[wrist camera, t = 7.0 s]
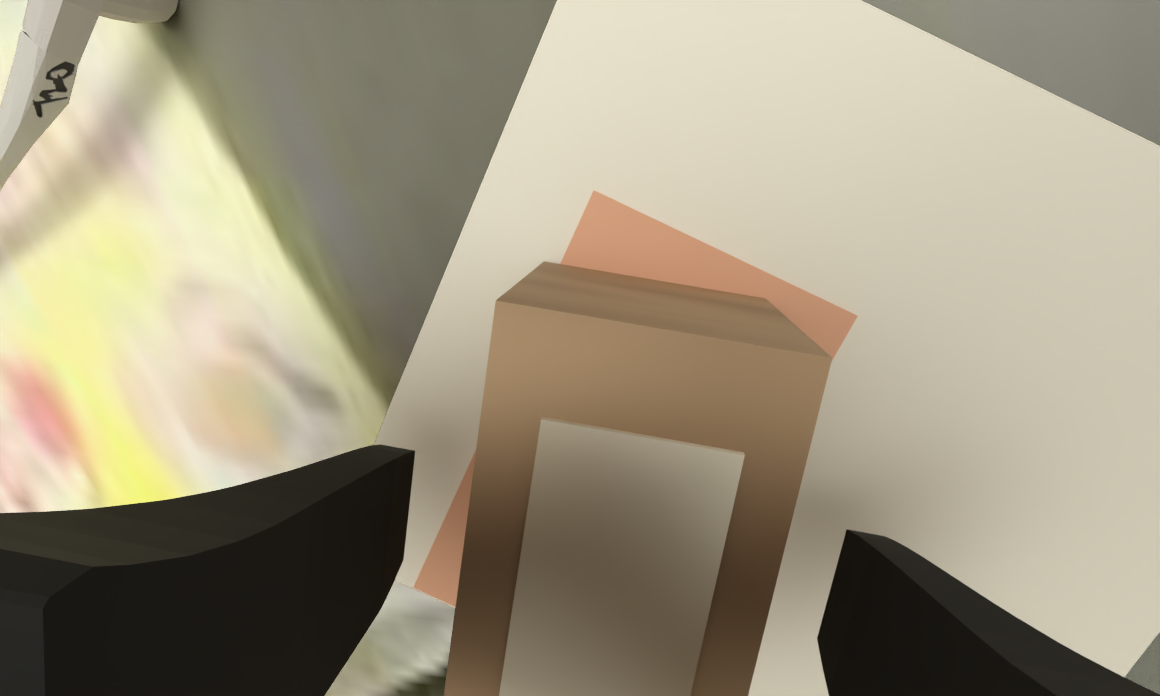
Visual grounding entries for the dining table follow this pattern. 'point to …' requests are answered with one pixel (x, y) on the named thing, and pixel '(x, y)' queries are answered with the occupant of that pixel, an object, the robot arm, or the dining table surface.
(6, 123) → the sunglasses
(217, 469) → the dining table surface
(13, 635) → the robot arm
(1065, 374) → the mat
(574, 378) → the card box
